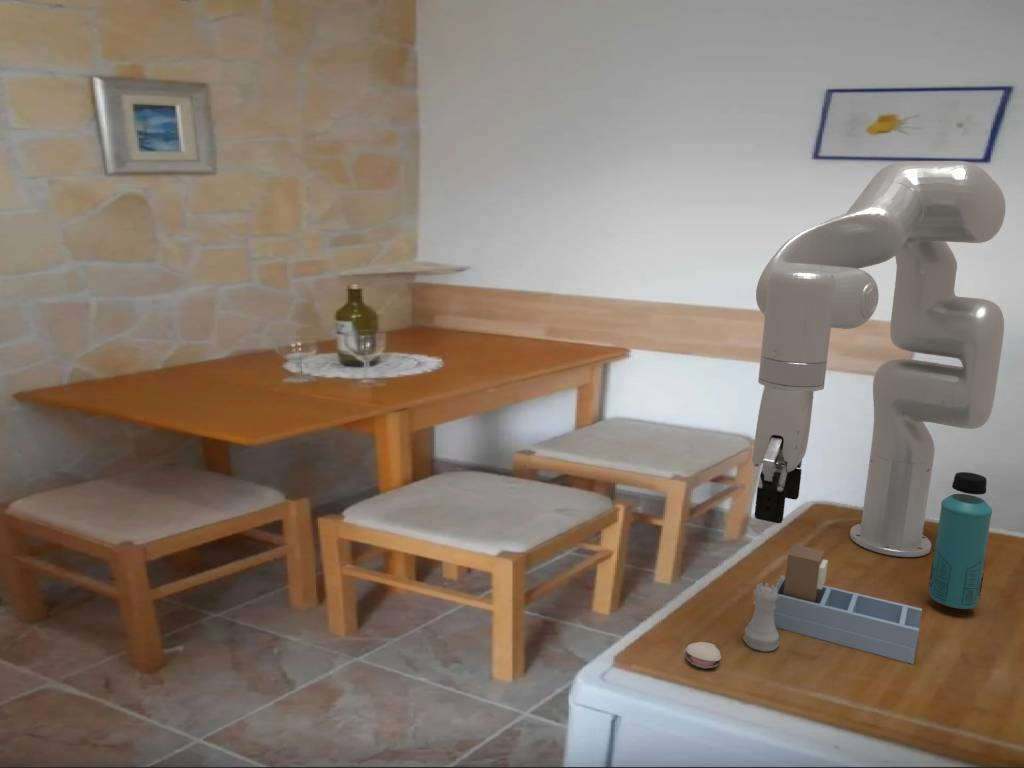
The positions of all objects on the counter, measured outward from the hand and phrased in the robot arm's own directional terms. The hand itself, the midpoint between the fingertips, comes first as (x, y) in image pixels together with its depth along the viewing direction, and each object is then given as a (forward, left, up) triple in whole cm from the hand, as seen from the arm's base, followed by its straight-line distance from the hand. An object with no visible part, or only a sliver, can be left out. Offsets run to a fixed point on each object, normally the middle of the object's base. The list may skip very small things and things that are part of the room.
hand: (777, 508), depth 102 cm
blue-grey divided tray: (-9, +8, -19) cm, 22 cm away
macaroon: (+8, -5, -19) cm, 21 cm away
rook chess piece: (0, 0, -19) cm, 19 cm away
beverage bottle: (-25, +21, -19) cm, 38 cm away
